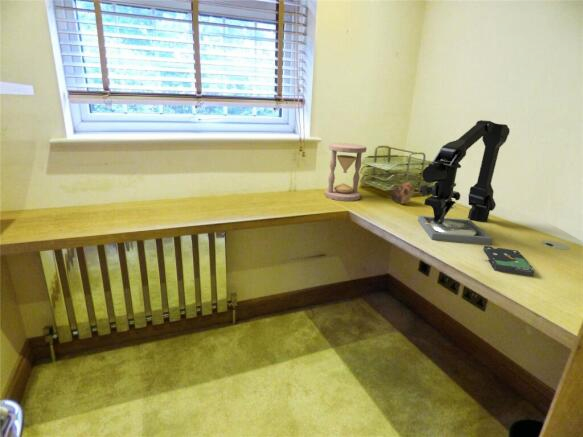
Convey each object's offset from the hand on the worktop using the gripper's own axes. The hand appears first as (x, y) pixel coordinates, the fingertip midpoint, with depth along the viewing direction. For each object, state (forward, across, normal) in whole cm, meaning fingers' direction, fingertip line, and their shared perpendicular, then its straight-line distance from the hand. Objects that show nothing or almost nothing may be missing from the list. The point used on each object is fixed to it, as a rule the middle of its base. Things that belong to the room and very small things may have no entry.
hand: (439, 220), depth 132 cm
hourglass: (+3, -7, -51) cm, 52 cm away
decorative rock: (+4, -23, -28) cm, 36 cm away
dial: (+3, +1, +6) cm, 6 cm away
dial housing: (+4, +1, +6) cm, 7 cm away
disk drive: (+4, +13, +27) cm, 30 cm away
